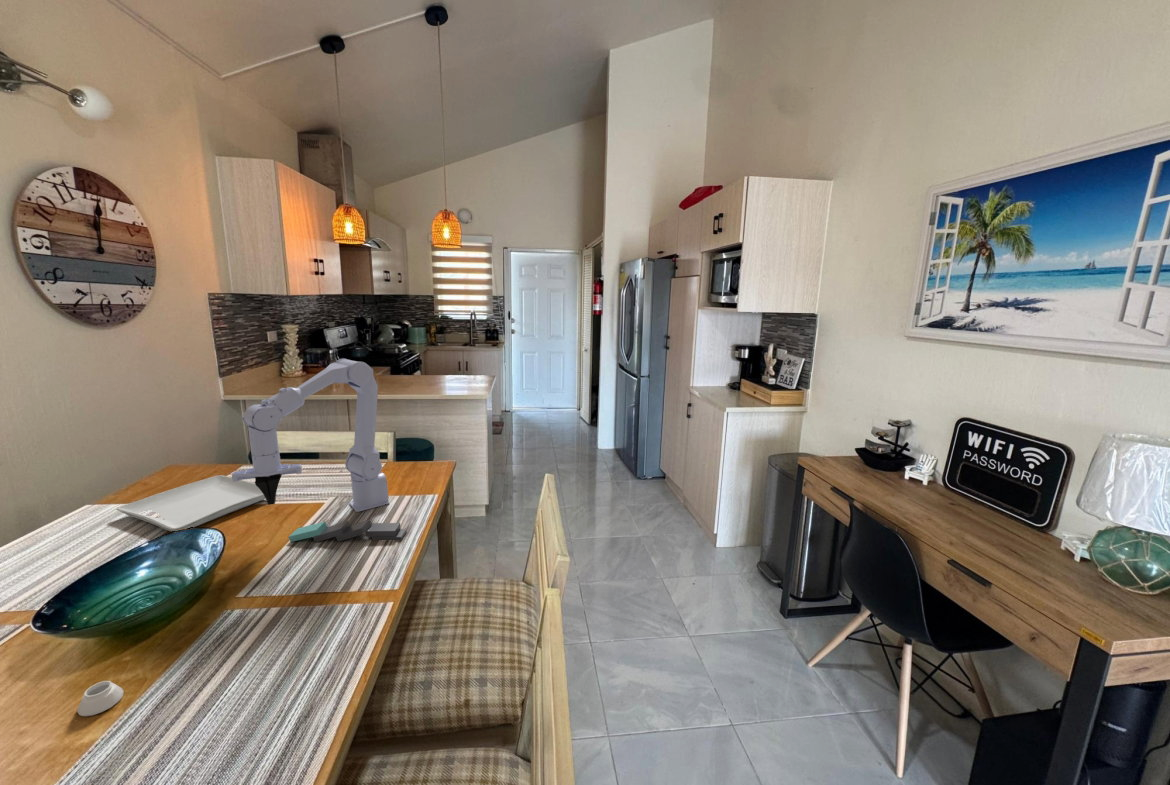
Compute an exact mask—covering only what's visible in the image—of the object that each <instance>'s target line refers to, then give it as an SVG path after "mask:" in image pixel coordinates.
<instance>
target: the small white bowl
mask: <svg viewBox="0 0 1170 785" xmlns="http://www.w3.org/2000/svg"><path fill="white" fill-rule="evenodd" d="M124 693H125V691H124V689H123V688H122V687H121V686H119V685H118V684H116V683H113V682H112V681H110V680H103V681H99V682H97V683H95V684H93V685H91V686H90V687H88V688H87V689H86V690H85V691H84V693H83V695H82V697H81V700H80V702H79V704H78V707H77V708H76V709H77V711H76V712H77V713H78V716H80V717H81V716H82V717H90V716H95V715H97V714H98V715H99V714H100V713H103V712H105V711H106V710H107V711H108V710H109V709H110V708H112V707H113V706H114V705H117V704H118V703H119V701H121V699H122V698H123V696H124Z"/></svg>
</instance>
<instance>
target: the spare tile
mask: <svg viewBox="0 0 1170 785" xmlns="http://www.w3.org/2000/svg"><path fill="white" fill-rule="evenodd" d="M327 527H328V525H327V523H326V521H322V522H317V523H314V524H310V525H306V526H302V527H298V528H296V529H295V530H294V531H293V532H292V533H291V534H290V535H289V536H288V539H289V542H290V543H293V542H296V541H301V540H305V539H309V538H313V537H314V536H318V535H320V534H321V533H322V532H323V531H324V530H325V529H326V528H327Z"/></svg>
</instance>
